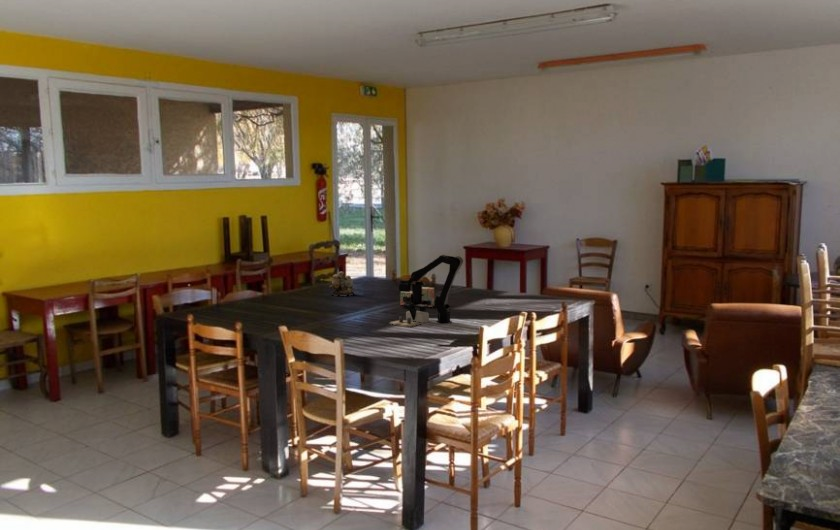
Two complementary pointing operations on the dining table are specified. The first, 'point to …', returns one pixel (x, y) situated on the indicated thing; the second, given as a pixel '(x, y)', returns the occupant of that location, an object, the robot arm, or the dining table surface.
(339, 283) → the owl figurine
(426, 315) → the block
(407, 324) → the base
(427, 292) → the stack of blocks
